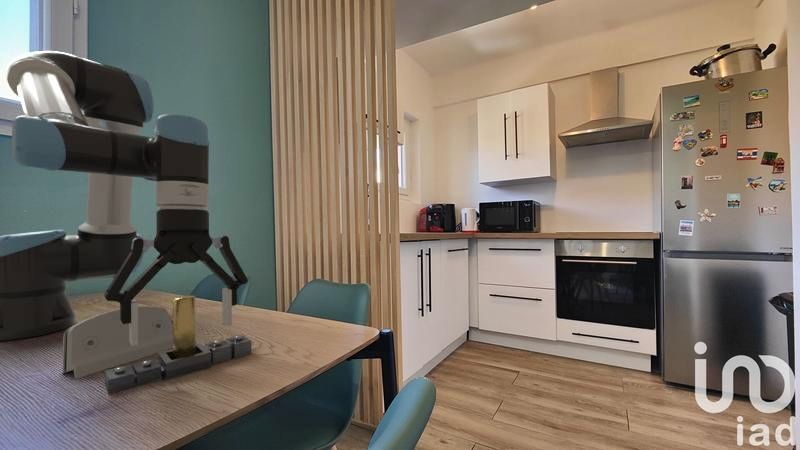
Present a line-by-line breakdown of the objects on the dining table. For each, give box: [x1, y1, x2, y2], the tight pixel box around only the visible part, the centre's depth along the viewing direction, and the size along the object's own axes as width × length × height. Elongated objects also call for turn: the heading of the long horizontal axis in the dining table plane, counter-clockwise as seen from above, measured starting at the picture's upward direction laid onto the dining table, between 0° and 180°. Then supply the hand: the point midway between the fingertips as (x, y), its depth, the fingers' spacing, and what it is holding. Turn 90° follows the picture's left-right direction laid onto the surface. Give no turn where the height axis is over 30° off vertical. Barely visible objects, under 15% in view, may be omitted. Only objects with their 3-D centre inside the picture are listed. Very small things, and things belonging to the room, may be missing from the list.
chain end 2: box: [157, 334, 252, 372], centre depth 59 cm, size 6×14×3 cm, turn 135°
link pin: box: [172, 295, 197, 360], centre depth 56 cm, size 3×3×12 cm
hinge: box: [61, 305, 173, 379], centre depth 62 cm, size 17×5×10 cm, turn 153°
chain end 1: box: [104, 353, 212, 395], centre depth 54 cm, size 6×13×3 cm, turn 136°
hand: (184, 333), depth 56 cm, fingers open, 13 cm apart
